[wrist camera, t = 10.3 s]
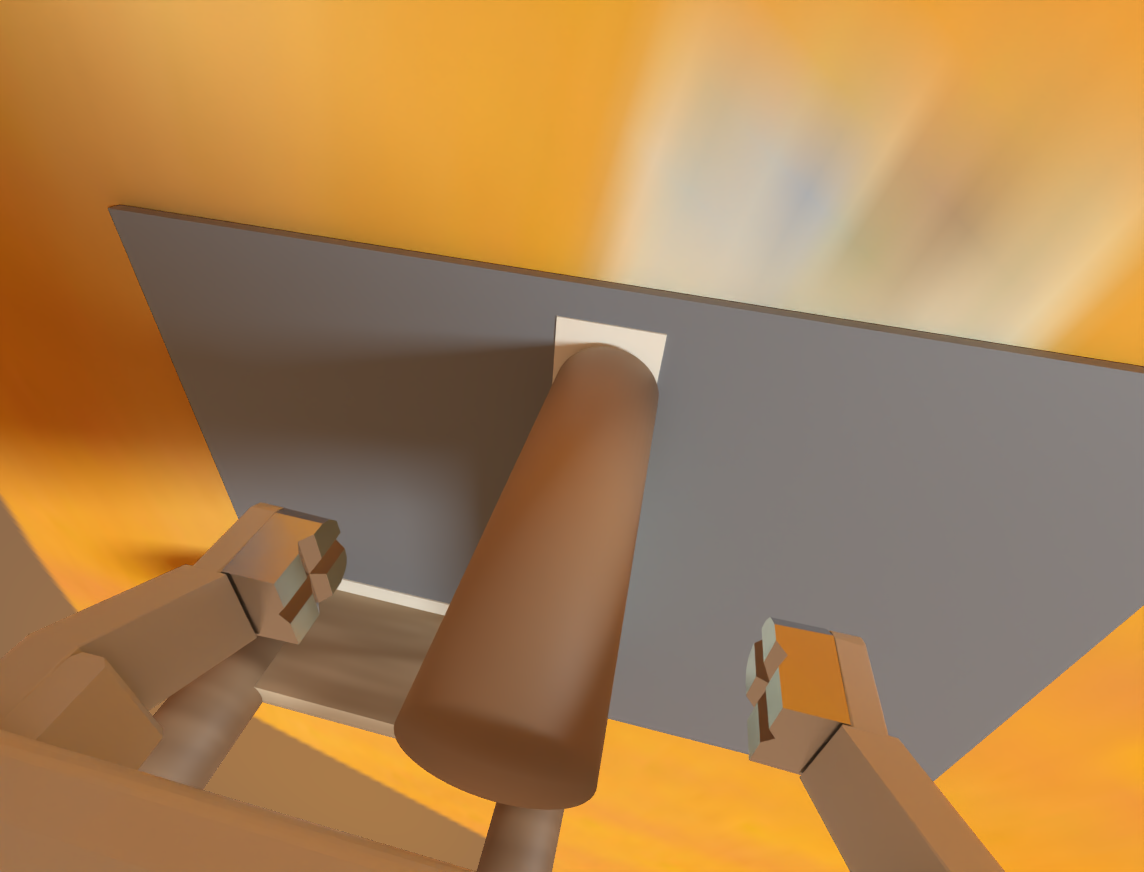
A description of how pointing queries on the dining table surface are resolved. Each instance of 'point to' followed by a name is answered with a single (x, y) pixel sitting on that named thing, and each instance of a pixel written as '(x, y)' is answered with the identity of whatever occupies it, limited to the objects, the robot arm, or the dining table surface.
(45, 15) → the dining table surface
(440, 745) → the gate
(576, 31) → the dining table surface
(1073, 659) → the board
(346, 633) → the fence fixed
